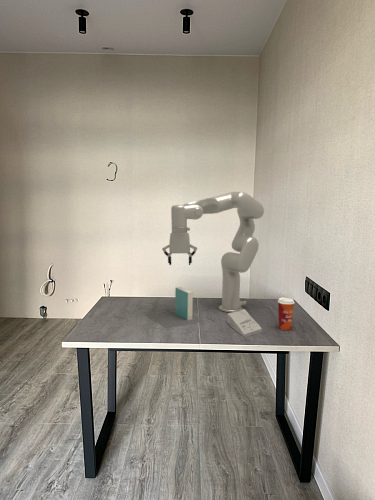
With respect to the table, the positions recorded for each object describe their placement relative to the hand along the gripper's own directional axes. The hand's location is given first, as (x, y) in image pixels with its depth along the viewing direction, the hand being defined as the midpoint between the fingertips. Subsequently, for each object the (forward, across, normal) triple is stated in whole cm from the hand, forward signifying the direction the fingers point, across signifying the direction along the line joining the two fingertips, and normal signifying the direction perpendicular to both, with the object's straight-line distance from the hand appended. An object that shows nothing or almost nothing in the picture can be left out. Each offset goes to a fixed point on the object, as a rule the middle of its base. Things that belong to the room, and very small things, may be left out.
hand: (180, 264), depth 187 cm
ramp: (+29, -30, +11) cm, 43 cm away
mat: (+28, +3, +2) cm, 28 cm away
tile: (+27, -1, -1) cm, 27 cm away
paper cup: (+29, -50, +11) cm, 59 cm away
